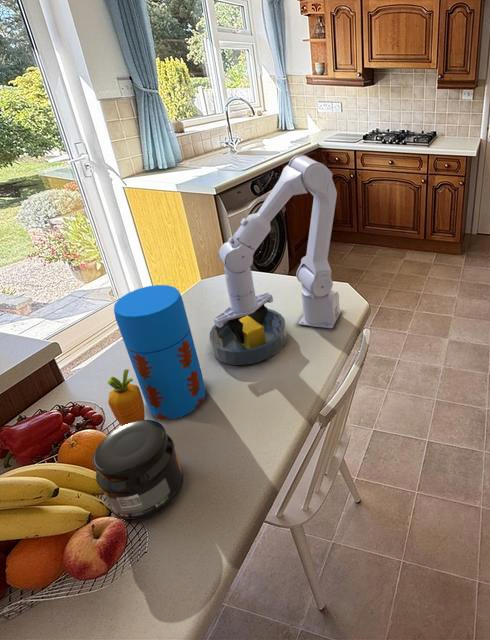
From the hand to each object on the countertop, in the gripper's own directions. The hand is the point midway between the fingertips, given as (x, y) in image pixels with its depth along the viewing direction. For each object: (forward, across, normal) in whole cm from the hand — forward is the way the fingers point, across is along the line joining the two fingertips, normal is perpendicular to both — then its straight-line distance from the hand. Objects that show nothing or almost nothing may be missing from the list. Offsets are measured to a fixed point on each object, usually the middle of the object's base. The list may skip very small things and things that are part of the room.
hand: (249, 336), depth 101 cm
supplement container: (+2, +33, +21) cm, 39 cm away
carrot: (+2, +29, +8) cm, 30 cm away
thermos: (+2, +20, +5) cm, 21 cm away
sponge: (+1, 0, 0) cm, 1 cm away
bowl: (+2, 0, 0) cm, 2 cm away
